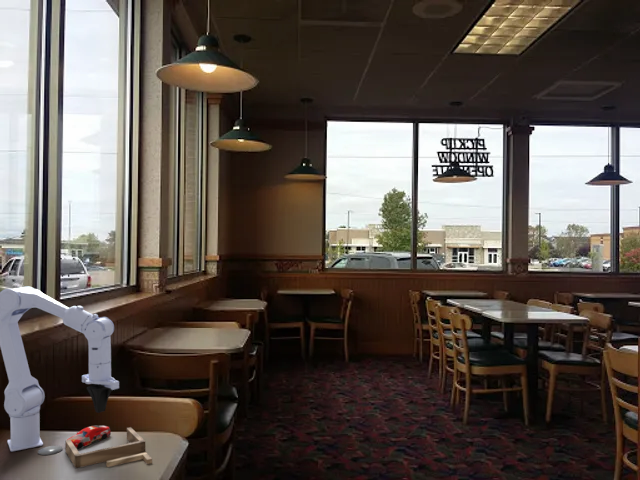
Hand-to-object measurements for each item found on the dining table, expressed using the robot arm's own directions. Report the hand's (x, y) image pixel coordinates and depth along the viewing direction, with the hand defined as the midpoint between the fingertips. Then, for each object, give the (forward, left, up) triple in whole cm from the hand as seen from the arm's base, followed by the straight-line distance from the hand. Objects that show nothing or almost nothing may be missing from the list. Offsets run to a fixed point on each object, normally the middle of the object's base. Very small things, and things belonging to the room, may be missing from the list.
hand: (100, 411), depth 154 cm
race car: (-6, -2, -10) cm, 12 cm away
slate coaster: (-5, -12, -10) cm, 16 cm away
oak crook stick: (+17, +3, -10) cm, 20 cm away
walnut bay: (+5, 0, -10) cm, 11 cm away
